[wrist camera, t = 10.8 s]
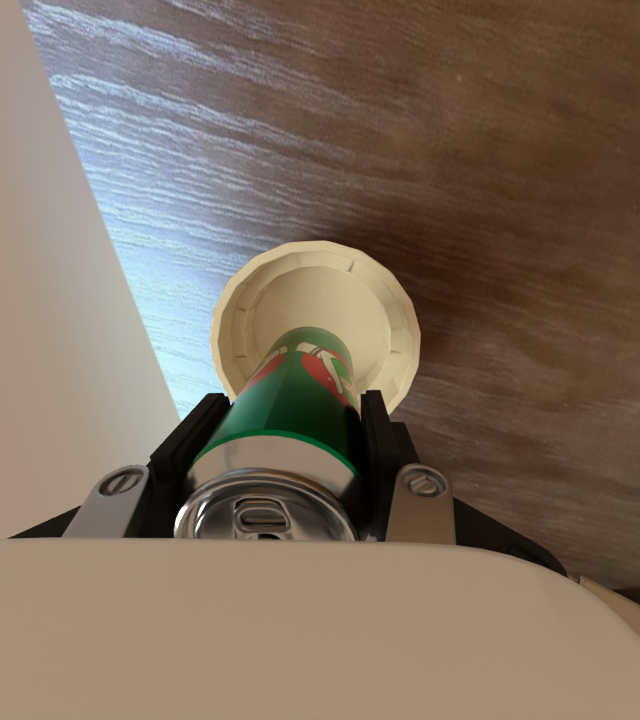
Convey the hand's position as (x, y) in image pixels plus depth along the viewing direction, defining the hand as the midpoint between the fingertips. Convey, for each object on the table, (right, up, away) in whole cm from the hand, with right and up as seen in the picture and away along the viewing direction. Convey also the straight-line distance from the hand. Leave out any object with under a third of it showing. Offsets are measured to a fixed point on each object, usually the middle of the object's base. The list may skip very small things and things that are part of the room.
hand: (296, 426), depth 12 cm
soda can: (0, +2, +7) cm, 7 cm away
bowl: (+1, +5, +14) cm, 15 cm away
